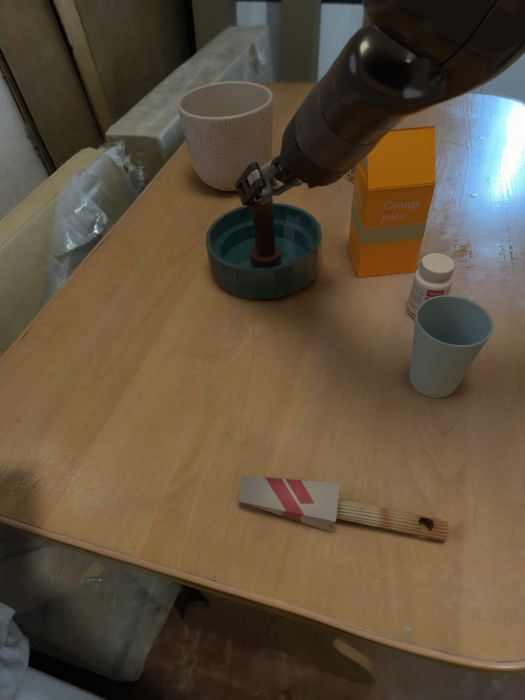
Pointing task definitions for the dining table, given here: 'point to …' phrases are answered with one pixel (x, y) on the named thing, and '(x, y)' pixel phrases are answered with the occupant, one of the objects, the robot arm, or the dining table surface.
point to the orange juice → (392, 202)
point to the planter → (227, 129)
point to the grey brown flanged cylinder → (265, 237)
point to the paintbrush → (329, 506)
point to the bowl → (238, 239)
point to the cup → (446, 343)
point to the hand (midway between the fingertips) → (279, 191)
